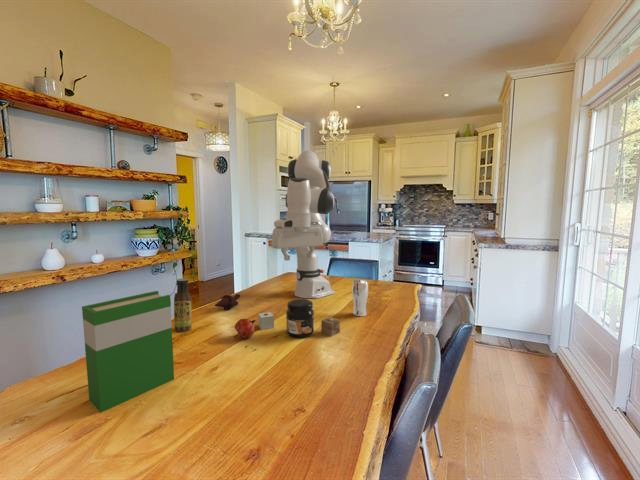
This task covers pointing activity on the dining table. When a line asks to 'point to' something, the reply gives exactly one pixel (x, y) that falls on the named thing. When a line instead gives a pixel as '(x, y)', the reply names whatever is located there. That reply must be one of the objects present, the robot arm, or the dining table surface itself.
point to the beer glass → (360, 297)
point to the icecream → (228, 301)
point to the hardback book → (127, 347)
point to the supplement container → (300, 318)
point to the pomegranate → (245, 328)
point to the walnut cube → (330, 326)
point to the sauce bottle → (182, 306)
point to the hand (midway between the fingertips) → (298, 259)
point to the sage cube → (266, 320)
